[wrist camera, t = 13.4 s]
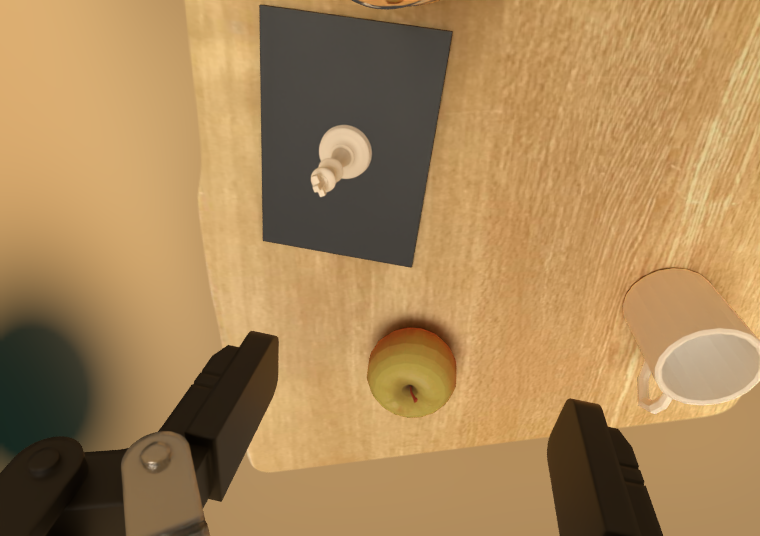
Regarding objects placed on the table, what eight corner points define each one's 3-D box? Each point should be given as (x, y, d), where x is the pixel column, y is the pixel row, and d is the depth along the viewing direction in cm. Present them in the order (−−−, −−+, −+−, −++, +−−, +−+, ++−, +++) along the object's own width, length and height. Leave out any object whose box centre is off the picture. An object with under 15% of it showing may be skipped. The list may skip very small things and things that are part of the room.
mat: (261, 4, 39) (259, 4, 39) (452, 31, 38) (452, 31, 37) (264, 239, 50) (262, 241, 50) (412, 265, 49) (411, 267, 49)
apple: (467, 374, 55) (467, 427, 48) (390, 387, 58) (380, 439, 51) (443, 306, 51) (439, 354, 44) (361, 324, 54) (345, 372, 47)
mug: (585, 346, 51) (609, 416, 42) (653, 255, 44) (697, 316, 36) (655, 372, 51) (692, 446, 42) (732, 285, 45) (794, 351, 36)
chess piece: (332, 183, 45) (300, 226, 37) (311, 134, 43) (273, 167, 35) (379, 168, 44) (358, 210, 35) (360, 117, 42) (333, 147, 33)
